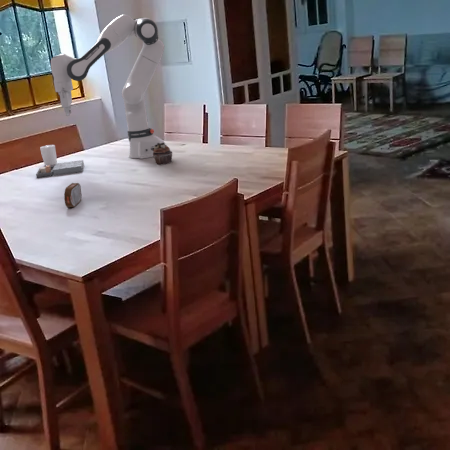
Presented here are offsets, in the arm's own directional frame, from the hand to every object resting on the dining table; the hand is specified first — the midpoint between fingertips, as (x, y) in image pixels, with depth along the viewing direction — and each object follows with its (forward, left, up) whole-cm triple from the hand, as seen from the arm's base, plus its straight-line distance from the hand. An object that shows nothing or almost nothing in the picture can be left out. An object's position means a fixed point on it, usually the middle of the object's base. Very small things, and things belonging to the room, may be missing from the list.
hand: (68, 114), depth 330 cm
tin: (-4, +82, -27) cm, 86 cm away
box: (+15, +9, -27) cm, 32 cm away
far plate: (+4, +9, -27) cm, 29 cm away
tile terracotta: (+13, +13, -25) cm, 30 cm away
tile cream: (+17, +5, -25) cm, 30 cm away
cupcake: (-44, +23, -27) cm, 57 cm away
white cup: (+16, -16, -27) cm, 35 cm away
